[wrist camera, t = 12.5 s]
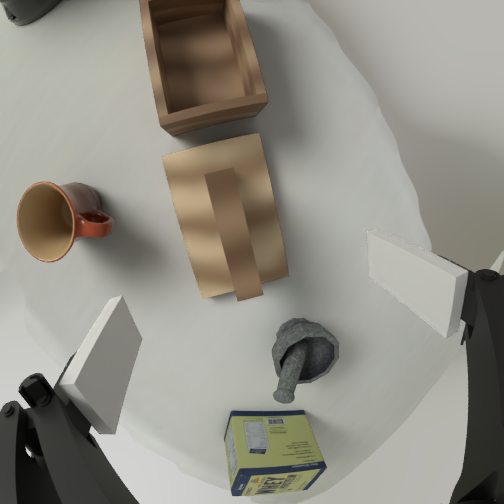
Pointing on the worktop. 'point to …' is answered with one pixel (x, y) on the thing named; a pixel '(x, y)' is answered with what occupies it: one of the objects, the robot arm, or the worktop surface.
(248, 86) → the box
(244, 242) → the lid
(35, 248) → the mug
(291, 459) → the protein box
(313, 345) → the mortar and pestle
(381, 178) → the worktop surface
